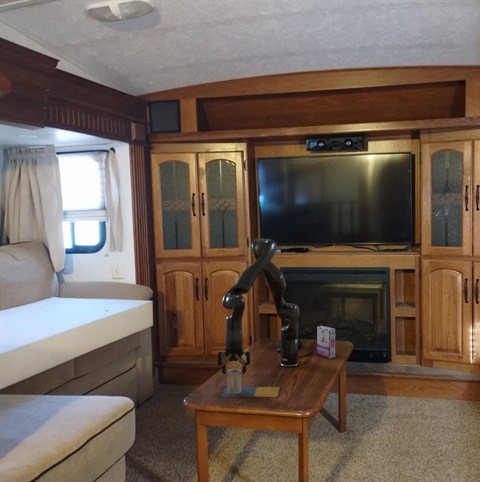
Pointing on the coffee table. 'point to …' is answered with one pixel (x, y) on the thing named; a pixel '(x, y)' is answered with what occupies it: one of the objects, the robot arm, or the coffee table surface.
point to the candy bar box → (326, 341)
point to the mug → (234, 381)
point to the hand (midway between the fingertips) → (234, 373)
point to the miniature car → (280, 344)
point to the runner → (254, 392)
